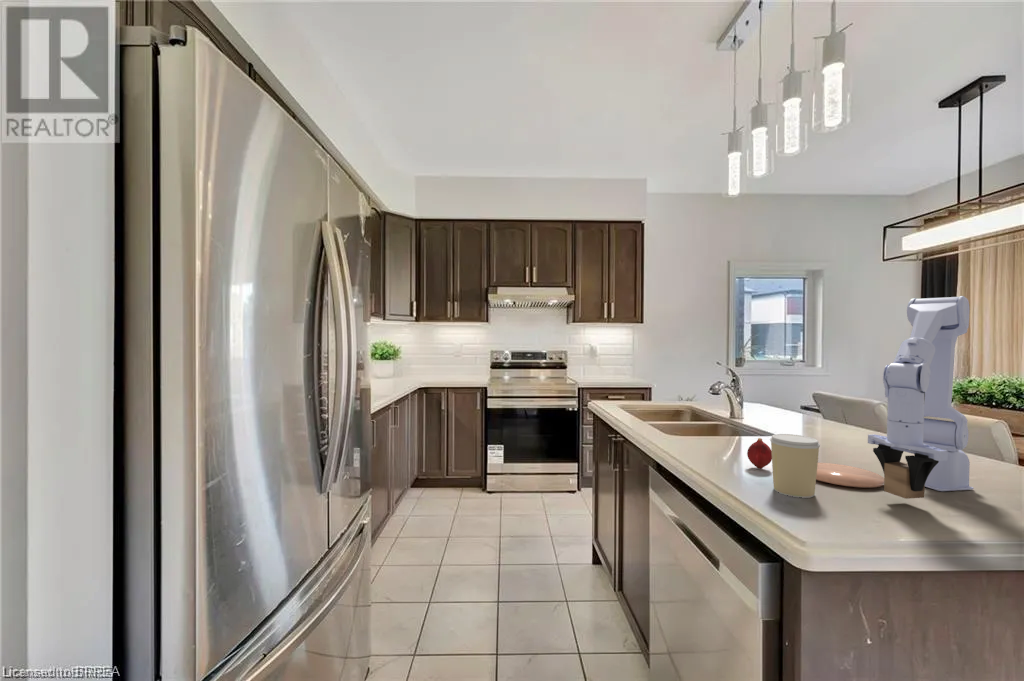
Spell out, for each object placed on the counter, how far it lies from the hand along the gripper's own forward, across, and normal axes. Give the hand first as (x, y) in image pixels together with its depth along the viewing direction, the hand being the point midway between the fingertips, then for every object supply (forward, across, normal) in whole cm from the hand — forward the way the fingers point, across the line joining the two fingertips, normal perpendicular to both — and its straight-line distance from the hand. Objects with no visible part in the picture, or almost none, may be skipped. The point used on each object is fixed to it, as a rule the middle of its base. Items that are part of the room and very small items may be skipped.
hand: (903, 486), depth 94 cm
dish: (+4, -17, +2) cm, 18 cm away
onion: (+4, -27, -12) cm, 30 cm away
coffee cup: (+4, -10, -17) cm, 20 cm away
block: (+2, 0, 0) cm, 2 cm away
